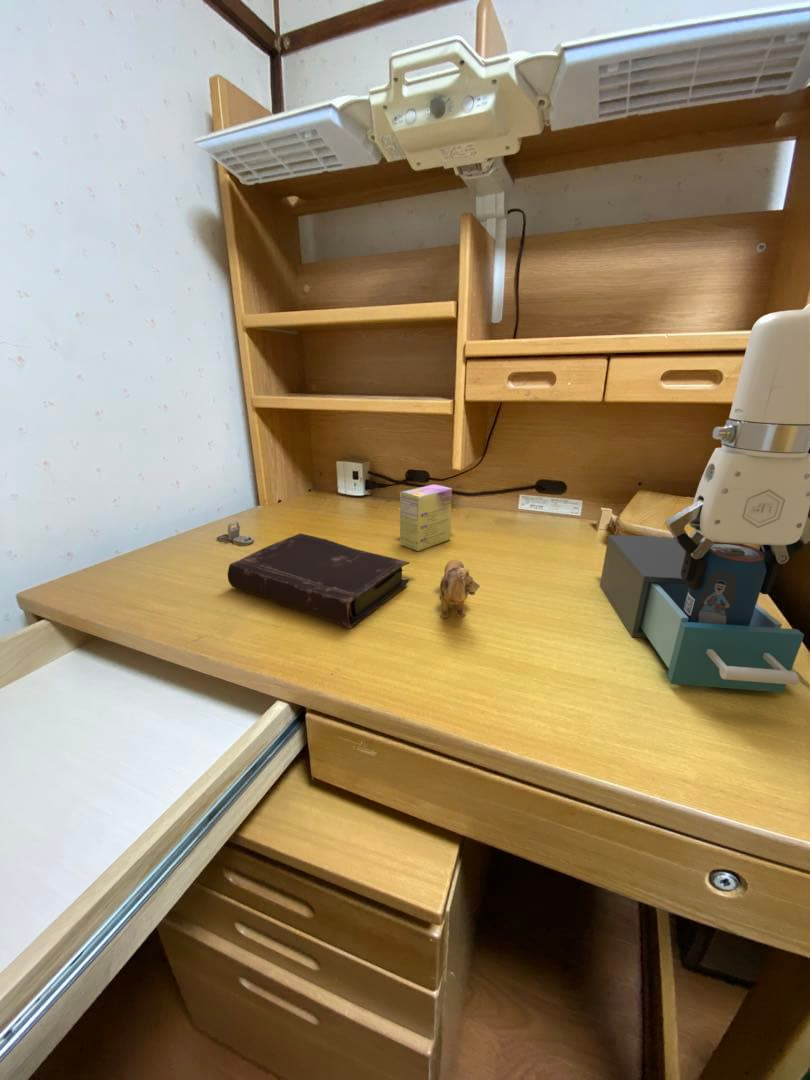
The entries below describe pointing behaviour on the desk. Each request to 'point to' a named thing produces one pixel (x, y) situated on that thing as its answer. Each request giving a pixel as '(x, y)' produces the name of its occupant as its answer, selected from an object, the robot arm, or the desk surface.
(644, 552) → the drawer cabinet casing
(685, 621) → the teal drawer
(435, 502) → the box
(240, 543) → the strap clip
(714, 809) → the desk surface
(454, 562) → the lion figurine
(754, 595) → the soda can
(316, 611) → the diary
